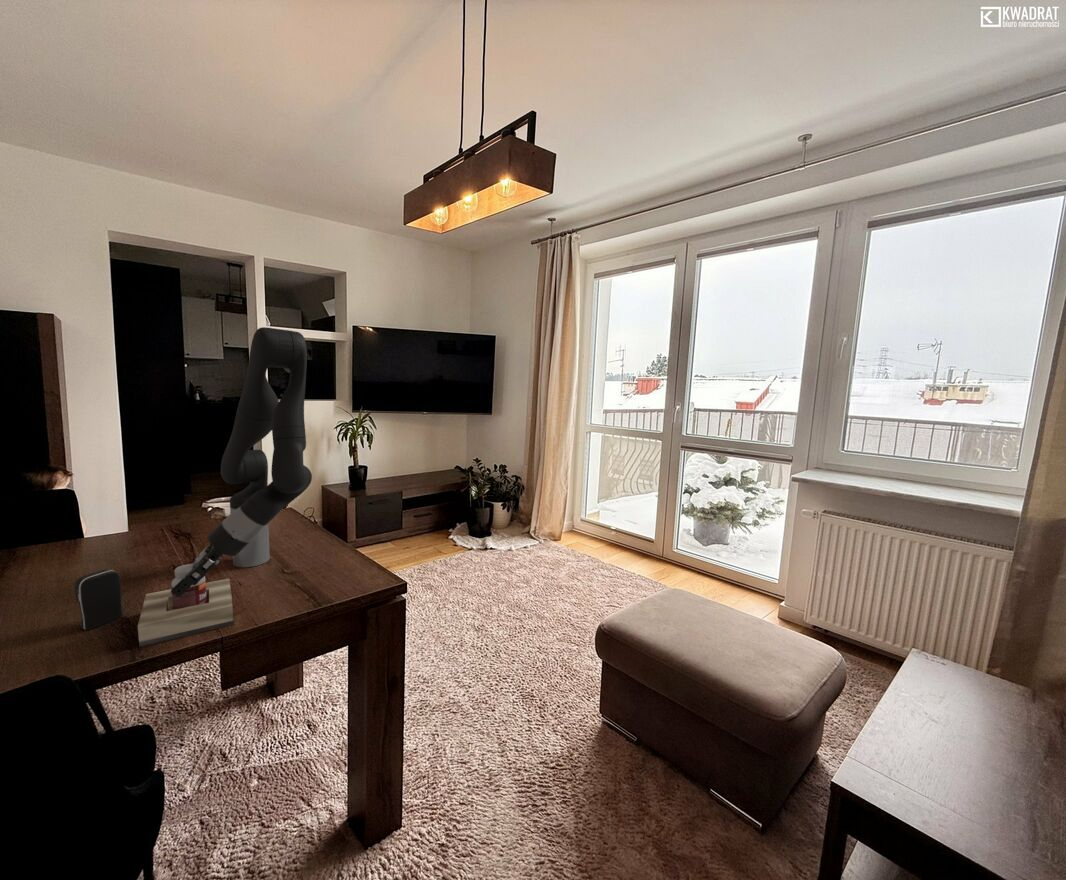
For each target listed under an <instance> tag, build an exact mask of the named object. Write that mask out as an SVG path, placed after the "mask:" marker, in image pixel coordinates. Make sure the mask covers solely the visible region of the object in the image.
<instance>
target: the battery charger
mask: <svg viewBox="0 0 1066 880" xmlns="http://www.w3.org/2000/svg"><path fill="white" fill-rule="evenodd" d="M74 598H75V602H77V603H78V605H79V611H80V615H81V616H80V617H81V621H80V627H81V628H82V629H83V630H85V631H86V630H87V631H89V630H91V629H94V628H97V627H101V626H103V625H105V624H108V623H110V622H112V621H114V620H117V619H119V618H121V617H122V616H124V615H123V607H122V606H123V605H122V588H121V578H120V575H119V573H118V572H117V571H116V570H113V569H112V570H111V569H102V570H99V571H96V572H92V573H89V574H86V575H83V576H81V577H80V576H79V578H78V579H76V581H75V582H74Z"/></svg>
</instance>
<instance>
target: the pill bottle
mask: <svg viewBox="0 0 1066 880" xmlns="http://www.w3.org/2000/svg"><path fill="white" fill-rule="evenodd" d="M192 565H193V564H192V563H187V564H183V565H180V566H177V567H176V568H175V569H174V576H175V577H174V578H173V579H172V581H171V585H170V586H171V588H170V590H171V589H172V588H174V587H175V586H176V585H177V584H178V583H179V582H180V581H181V580H182V579H183V578H184V577H185V575H186V574H188V572H189V571H190V570H191V566H192ZM198 575H199V574H198V573H196V572H195V573H193V574H192V576H194V577H195V578H197V577H198ZM206 583H207V582H206V575H205V576H204V577H203V578H202V579H201V580H200V581H199V582H198V583H197V584H196V585H191V586H190V587H189V588H188V589H187V590H186V591H185V592H184V593H183V594H182V595H181V596H176V595H174V594H173V593H172V602H173V610H176V609H181V608H186V607H190V606H195V605H200V604H205V603H207V596H206Z"/></svg>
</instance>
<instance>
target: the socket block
mask: <svg viewBox="0 0 1066 880" xmlns="http://www.w3.org/2000/svg"><path fill="white" fill-rule="evenodd" d="M171 590H172V589H171V588H170V589H165V590H160V591H155V592H151V593H145V597H144V601H143V604H142V609H141V612H140V616H139V620H138V624H137V633H138V642H139V643H138V645H139V648H141V647H144V646H145V647H146V646H149V645H153V644H158V643H161V642H166V641H171V640H175V639H178V638H179V639H180V638H183V637H187V636H191V635H195V634H196V635H197V634H199V633H204V632H209V631H212V630H216V629H220V628H225V627H230V626H233V625H234V612H233V610H234V609H233V597H232V590H231V580H230V578H225V579H219V580H214V581H209V582H206V596H207V603H205V604H200V605H195V606H190V607H186V608H181V609H176V610H173V602H172V593H171Z"/></svg>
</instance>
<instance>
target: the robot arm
mask: <svg viewBox="0 0 1066 880" xmlns="http://www.w3.org/2000/svg"><path fill="white" fill-rule="evenodd" d="M253 334H254V335H253V336H252V340H251V346H250V350H249V358H248V366H247V372H246V377H245V381H244V384H243V389H242V393H241V394H240V395H241V396H240V399H239V401H238V405H237V410H236V413H235V418H234V423H233V428H232V432H231V435H230V437H229V440H228V442H227V445H226V447H225V450H224V453H223V455H222V459H221V463H220V475H221V479H223V481H224V483H226V484H228V485H238V484H239V485H241V484H246V483H249V485H248V486H247V487H245V488H244V489H243V490H241V491H239V492H237V493H235V494H233V495H232V496H231V497H230V498H229V512H230V514H228V515H227V516H226V517H225V519H223V520H222V522H220V523H219V524H218V525H217V526H216V527H215V528H214V529H212V531H210V533H208V535H207V540H208V542H209V545H207V546H206V547H205V548H204V549H203V550H202V551H201V552H200V553H199V554H198V555H197V557H195V559H194V561H193V562H192V563H191V564H193V565H192V566H191V570H190V571H189V572H188V574H186V575H185V577H184V578H183V579H182V580H181V581H180V582H179V583H178V584H177V585H176V586H175V587H174V588H172V590H171V589H170V590H171V593H173V594H174V595H176V596H181V595H182V594H183V593H184V592H185V591H186V590H187V589H188V588H189V587H190V586H191V585H196V584H197V583H198V582H199V581H200V580H201V579H202V578H203V577H204V576H205V577H206V575H207V574H209V573H210V571H211V570H213V569H214V568H215V567H216V566H218V564H219V563H220V562H221V561H222V558H223V557H224V555H226V556H228V557H232V565H233V566H234V567H237V568H250V567H252V568H253V567H256V566H260V565H264V564H266V563H268V562H269V561H270V557H271V556H270V535H269V532H270V531H269V523H270V522H271V521H272V520H273V519H274V518H275V517H276V516H278V514H279V513H280V511H282V510H283V509H284V508H285V507H286V506H288V505H290V503H292V502H293V501H295V500H296V499H297V498H298V497H299V496H300V495H302V494H303V493H304V492H305V491H306V490H307V489H308V488H309V487H310V485H311V483H312V480H313V476H312V475H313V474H312V472H311V470H310V468H309V467H307V466H306V465H304V451H305V450H306V447H307V436H306V426H305V425H306V423H305V397H306V396H305V395H306V383H307V365H308V364H307V363H308V349H307V347H308V346H307V342H306V339H305V336H304V335H303V334H302V333H301V332H298V331H294V330H289V329H280V328H273V327H263V326H262V327H259V328H258V329H256V330H255V331H254V333H253ZM269 368H278V369H289V380H288V384H287V387H286V389H285V390H284V393H283V395H282V397H281V398H280V400H279V398H278V397H277V394H276V393H275V391H274V389H273V388H272V386H271V384H270V383H269V381H268V378H267V370H268V369H269ZM269 433H272V444H273V453H272V459H271V471H270V472H271V480H272V481H271V482H270V483H269V479H268V478H269V463H268V459H267V454H266V453H265V452H264V451H263V450H261V449H251V448H253V447H254V446H255V445H256V444H258V443H259V442H260V441H261V440H263V439H264V438H265V437H267V436H268V435H269ZM195 572H196V573H198V574H199V575H198V577H197V578H195V577H194V576H192V574H193V573H195Z"/></svg>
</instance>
